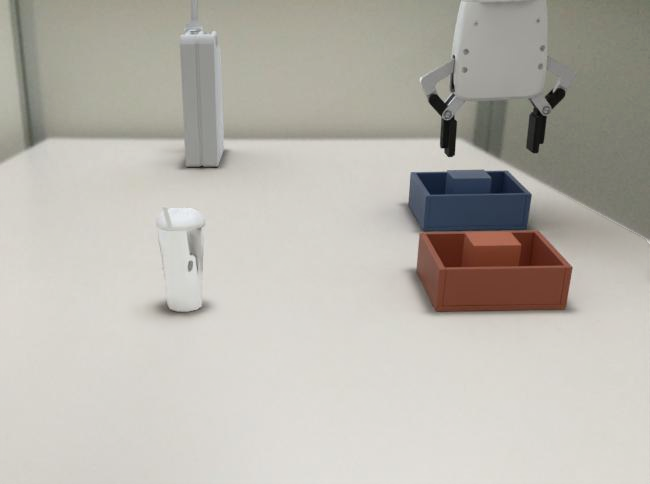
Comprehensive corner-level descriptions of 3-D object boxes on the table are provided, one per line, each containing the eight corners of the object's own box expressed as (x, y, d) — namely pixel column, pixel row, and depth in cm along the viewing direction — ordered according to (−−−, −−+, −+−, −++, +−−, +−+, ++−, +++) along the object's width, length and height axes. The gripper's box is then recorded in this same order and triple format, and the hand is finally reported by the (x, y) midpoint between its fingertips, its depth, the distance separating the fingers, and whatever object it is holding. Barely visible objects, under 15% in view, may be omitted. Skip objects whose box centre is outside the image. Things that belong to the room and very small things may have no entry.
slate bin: (503, 203, 124) (507, 170, 121) (527, 229, 113) (532, 194, 111) (408, 204, 124) (410, 172, 122) (423, 231, 113) (425, 196, 111)
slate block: (479, 207, 120) (484, 169, 118) (487, 216, 116) (491, 177, 114) (443, 207, 120) (447, 170, 118) (449, 217, 116) (453, 178, 114)
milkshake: (149, 314, 91) (141, 205, 86) (173, 296, 96) (167, 191, 90) (192, 319, 90) (187, 209, 85) (215, 301, 94) (212, 195, 89)
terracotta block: (504, 276, 98) (510, 231, 95) (515, 291, 94) (521, 244, 91) (460, 277, 98) (464, 232, 95) (468, 292, 94) (474, 245, 91)
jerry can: (194, 146, 156) (186, -33, 143) (225, 146, 156) (220, -34, 142) (184, 167, 144) (174, -27, 130) (217, 167, 143) (211, -28, 130)
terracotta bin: (533, 268, 101) (538, 230, 99) (565, 309, 91) (572, 267, 89) (416, 270, 101) (419, 232, 99) (435, 311, 91) (439, 269, 89)
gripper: (576, -22, 107) (556, 143, 116) (419, -14, 107) (411, 150, 116) (597, -18, 100) (574, 156, 110) (430, -10, 101) (421, 163, 110)
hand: (490, 153), depth 113 cm, fingers open, 9 cm apart
